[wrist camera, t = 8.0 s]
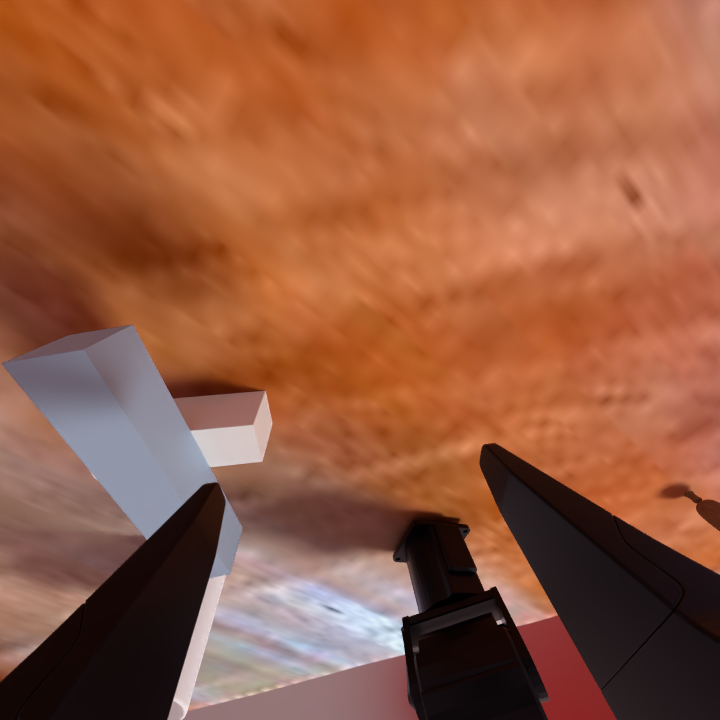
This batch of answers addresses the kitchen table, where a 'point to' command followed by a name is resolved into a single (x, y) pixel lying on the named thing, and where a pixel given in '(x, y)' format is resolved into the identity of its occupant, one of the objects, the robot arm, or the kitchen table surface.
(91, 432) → the bar
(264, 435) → the fulcrum
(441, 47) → the kitchen table surface
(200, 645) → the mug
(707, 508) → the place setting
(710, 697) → the robot arm
